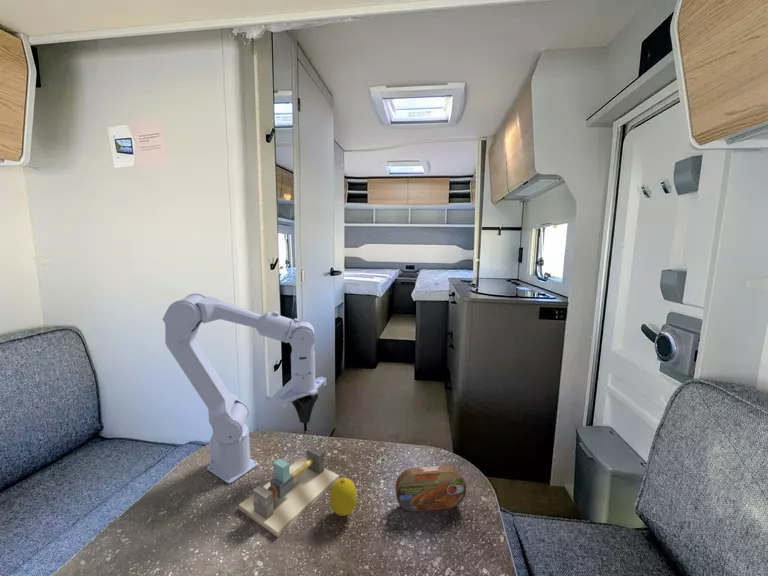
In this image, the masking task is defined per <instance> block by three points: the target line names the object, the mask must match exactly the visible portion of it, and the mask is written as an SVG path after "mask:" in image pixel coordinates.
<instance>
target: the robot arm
mask: <svg viewBox="0 0 768 576" xmlns="http://www.w3.org/2000/svg"><path fill="white" fill-rule="evenodd" d="M218 320H223V321H226V322H230V323H234V324H238V325H242V326H245V327H250V328H254V329H255V330H256V331H257V333H258V334H259V336H263V337H264V338H265V337H266V338H269V339H271V340H275V341H278V342H283V343H285V344H288V343H289V345H290V346H291V353H290V366H291V368H290V371H291V372H290V373H291V387H290V388H289V389H287V391H286V392H285V393H284V394H282V395H281V396H279V397H278V398H277V406H278V407H281V408H283V409H284V408H287V407H288V405H289V404H290V403H291V404H292V405H293V407H294V409H295V410H296V413H297V416H298V419H299V422H300V423H302V424H304V425H307V424H308V423H310V421H311V415H312V412H313V409H314V406H315V404H316V402H317V400H318V399H319V394H318V393H319V391H318V390H319V388H320V387H325V386H327V378H326V377H323V376H319V377H317V378H316V354H315V353H316V352H315V342H316V337H315V328H314V326H313V325H312V323H310V322H309V321H307V320H306V319H300V320H299V318H295V317H294V319H293V318H290V317H286V316H283V315H280V312H279V311H276V310H273V312H270V311H267V312H265V313H263V314H259V313H256V312H254V311H251V310H249V309H246V308H244V307H241V306H238V305H235V304H232V303H230V302H226V301H224V300H220V299H218V298H217V297H214V296H210V295H207V296H206V295H204V294H201V293H191V294H189V295H187V296H185V297H184V298H182V299H180V300H176V301H174V302H172V303H171V304H170V305H169V306H168V308H167V310H166V311H165V313H164V315H163V318H162V321H163V323H164V328H165V331H164V333H165V334H164V335H165V339H164V340H165V342H164V343H165V346H166V347H167V349H168V350H169V352H170V354H171V355H172V356H173V358H174V359H175V361H176V362H177V364H178V366H179V367H180V368H181V370H182V372H183V373H184V374H185V376H186V378H187V379H188V380H189V381H190V384H191V386H192V387H193V388H194V390H195V391H196V392H197V394H198V396H199V397H200V398H201V400H202V401H203V403H204V405H205V406H206V408H207V410H208V412H207V413H208V422H209V425H210V426H211V428H212V436H211V437H210V438H209V442H208V449H209V462H210V463H209V465H207V467H206V470H207V471H209V472H210V473H212V474H213V475H215V476H217V477H218V478H220V479H221V480H222V481H224V482H226V484H228V485H229V484H232V483H234V482H235V481H237V480H238V479H239V478H241V477H242V476H244V475H245V474H247V473H248V472H250V471H252V470H253V469H255V468H256V467H257V466H259V462H257V461H255V460H254V459H252V458H251V450H250V446H251V445H250V429H249V427H248V425H247V423H246V421H247V419H248V417H249V415H250V409H249V406H248V405H247V404H246V403H245V401H244V402H243V401H242V400H240V399H239V397H237V394H234V393H231V392H229V390H228V389H227V387H226V386H225V384H224V382H223V381H222V379H221V377H220V376H219V374H218V373H217V371H216V370H215V368H214V366H213V365H212V363H211V362H210V361H209V358H207V355H206V354H205V353H204V351H203V349H202V347H201V346H200V344H199V343H198V341H197V340H196V336H197V333H198V331H199V329H200V327H201V324H204V325H205V324H207V323H211V322H215V321H218Z"/></svg>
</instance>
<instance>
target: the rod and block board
mask: <svg viewBox="0 0 768 576" xmlns="http://www.w3.org/2000/svg"><path fill="white" fill-rule="evenodd" d="M289 473H290V474H291V475H293V483H294V488H293V489H292V490H291V491H290V492H288V493H287V494H286V495H285V496H284V497H282V498H281V499H279V498H278V497H276V496H278V494H279V491H278V487H276V486H275V485H270V481H268V482H267V483H266V484H265V485H263V486H262V485H260V484H259V485H257V486H256V487H255V488H253V489H252V494H251V495H250V496H248V497H247V498H246V499H245V500H243V501H242V502H241V503H239V504H238V509H239V511H240V512H241V513H242V514H244V515H246V517H248V518H250V519H251V520H253V521H254V522H256V523H257V524H258V525H259V526H260V527H262V528H264V529H265V530H267V531H268V532H269V533H270V534H272V535H274V536H275V537H276V538H280V536H281V535H283V534H284V533H285V532H286V531H287V530H288V529H289V528H290V527H291V526H292V525H293V524H295V522H296V521H298V520H299V518H301V516H302V515H304V514H305V513H306V512H307V511H308V510H309V509H310V508H311V507H312V506H313V505H314V504H315V503H317V502H318V501H319V500H320V498H322V497H324V495H325V494H326V493H327V492H328V491H329V490H331V488H332V486H333V484H334V483H335V482H336V481H337V480H338V479H340V475H339V474H337V473H335V472H334V471H331V470H330V469H327V468H325V452H324V451H322V450H320V449H318V448H315V447H313V446H311V447H309V448H308V449H307V450H306V458H305V457H304V456H302V457H301V458H299V459H298V460H297V461H295V462H294V463H293V464H291V465H289Z"/></svg>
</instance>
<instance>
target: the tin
mask: <svg viewBox="0 0 768 576" xmlns="http://www.w3.org/2000/svg"><path fill="white" fill-rule="evenodd" d="M466 494H467V484H466V481H465V479H464V477H462V474H461V472H459V470H458V469H456V467H454V466H451V465H434V466H433V465H431V466H421V467H419V466H418V467H410V468H407V469H405V470H403V471H402V472H401V473H400V474H399V476H398V477H397V479H396V481H395V496H396V497H395V498H396V501H397V503H398V504H399V506H400V507H402V509H404V510H406V511H408V512H412V513H413V512H414V513H415V512H424V511H425V512H426V511H427V512H428V511H436V510H437V511H438V510H448V509H453V508H456V506H458V505H459V504H461V503H462V501H464V499H465V496H466Z"/></svg>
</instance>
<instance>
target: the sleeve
mask: <svg viewBox="0 0 768 576" xmlns="http://www.w3.org/2000/svg"><path fill="white" fill-rule="evenodd" d="M289 467H290V463H289V462H288V461H285V460H283V459H281V458H278V459H277V460H276V461H273V478H271V479H270V481H269V482H270V485H275V486H276V487H278V491H279V494H278V496H276V497H278V498H279V499H281V498H282V497H284V496H285V495H286V494H287V493H288V492H290V491H291V490H292V489H293V488H294V483H293V475H291V474H290V473H289Z"/></svg>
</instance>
